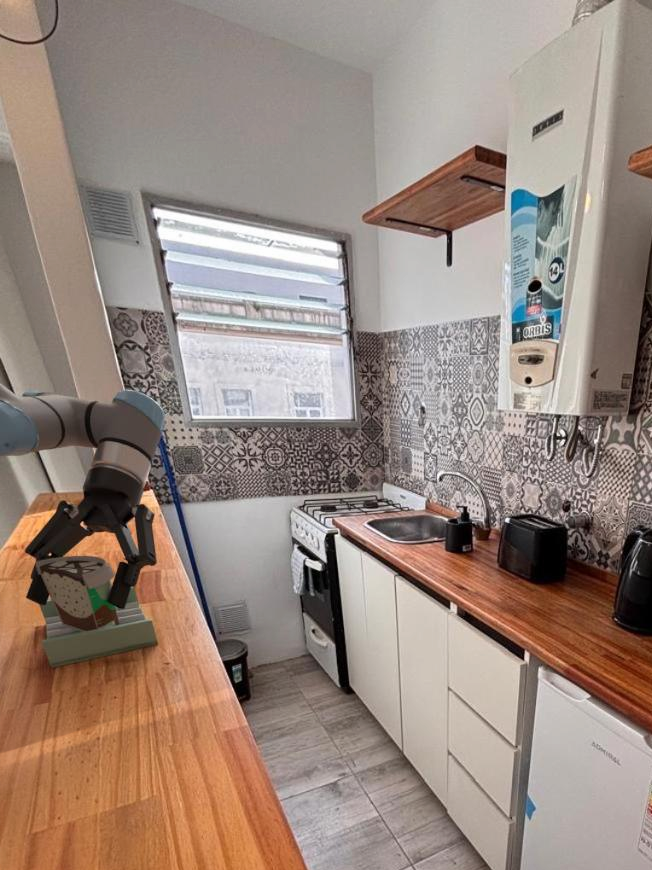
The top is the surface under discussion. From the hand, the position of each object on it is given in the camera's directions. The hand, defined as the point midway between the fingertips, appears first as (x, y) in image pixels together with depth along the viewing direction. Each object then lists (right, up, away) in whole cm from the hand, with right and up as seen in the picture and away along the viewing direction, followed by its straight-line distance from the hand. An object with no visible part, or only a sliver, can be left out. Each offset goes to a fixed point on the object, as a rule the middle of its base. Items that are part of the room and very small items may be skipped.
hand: (75, 603), depth 76 cm
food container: (+1, -3, +4) cm, 5 cm away
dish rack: (0, -4, +5) cm, 7 cm away
